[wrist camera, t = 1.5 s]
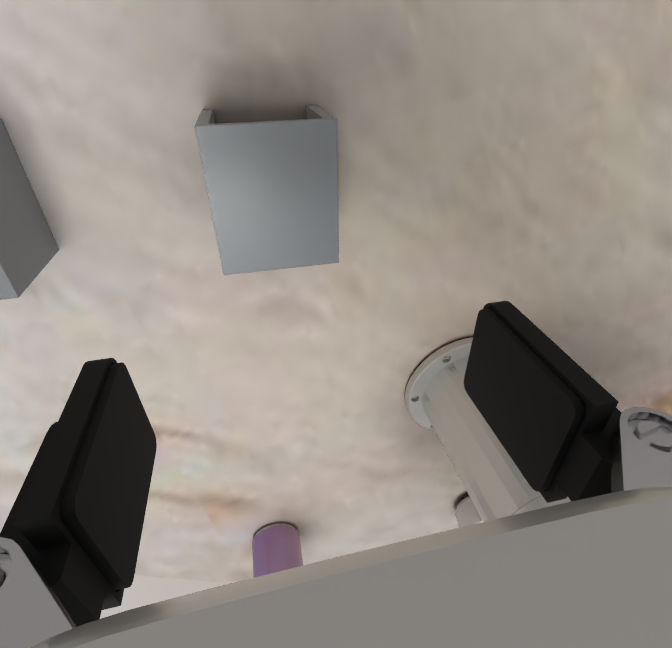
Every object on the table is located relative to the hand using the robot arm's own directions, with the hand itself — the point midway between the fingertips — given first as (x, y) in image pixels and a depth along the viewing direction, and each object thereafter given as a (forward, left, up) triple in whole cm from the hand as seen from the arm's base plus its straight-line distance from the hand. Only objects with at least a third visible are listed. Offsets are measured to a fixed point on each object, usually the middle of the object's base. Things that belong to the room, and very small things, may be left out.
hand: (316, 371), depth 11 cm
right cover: (0, 0, -21) cm, 21 cm away
